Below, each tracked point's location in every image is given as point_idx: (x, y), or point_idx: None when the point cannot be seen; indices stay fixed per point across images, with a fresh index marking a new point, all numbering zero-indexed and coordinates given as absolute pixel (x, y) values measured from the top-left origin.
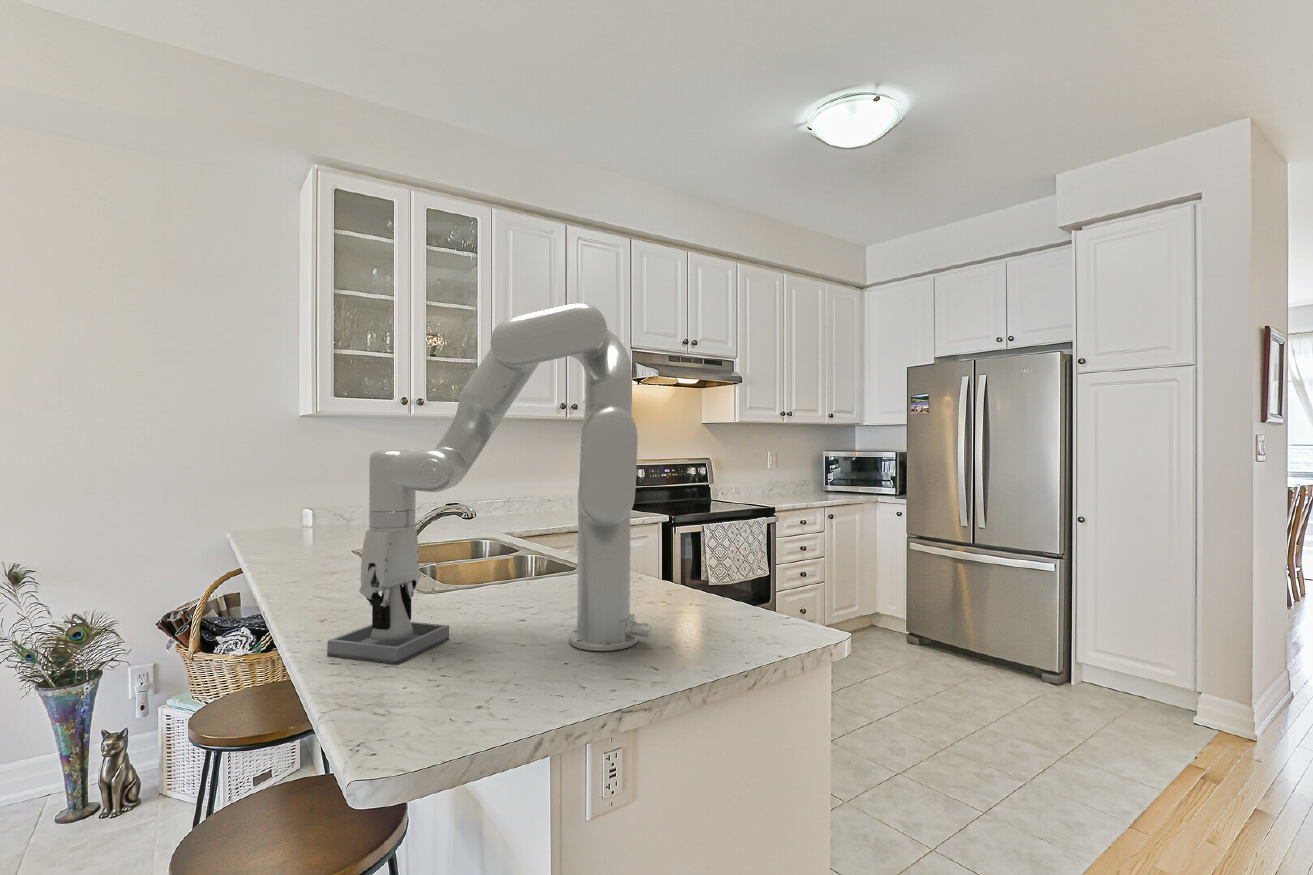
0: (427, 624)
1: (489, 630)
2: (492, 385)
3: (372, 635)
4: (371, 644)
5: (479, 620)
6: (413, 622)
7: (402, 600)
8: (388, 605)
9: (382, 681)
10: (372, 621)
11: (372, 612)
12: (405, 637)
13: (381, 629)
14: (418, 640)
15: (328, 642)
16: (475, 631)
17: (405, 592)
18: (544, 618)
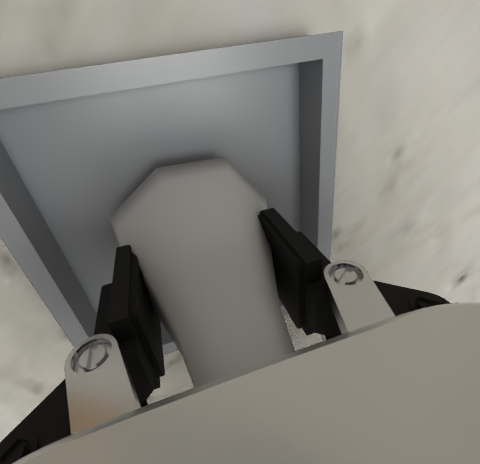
0: (319, 249)
1: (389, 283)
2: None
3: (116, 232)
4: (57, 302)
5: (462, 207)
6: (325, 194)
7: (295, 303)
8: (179, 350)
9: (3, 402)
10: (115, 261)
11: (111, 291)
12: (263, 195)
13: None
14: None
15: None
16: (378, 268)
17: (334, 328)
18: (472, 297)
